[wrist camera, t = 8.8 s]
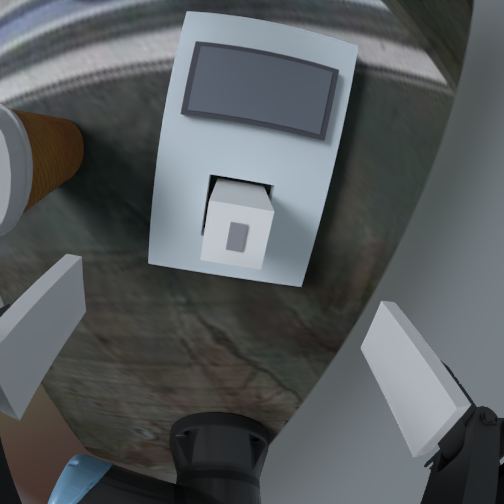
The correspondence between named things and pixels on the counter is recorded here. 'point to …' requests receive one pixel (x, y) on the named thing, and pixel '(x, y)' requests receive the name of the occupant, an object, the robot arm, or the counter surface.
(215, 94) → the phone
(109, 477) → the robot arm
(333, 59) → the outlet board
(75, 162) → the disposable coffee cup
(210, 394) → the counter surface
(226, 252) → the block
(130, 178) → the counter surface
